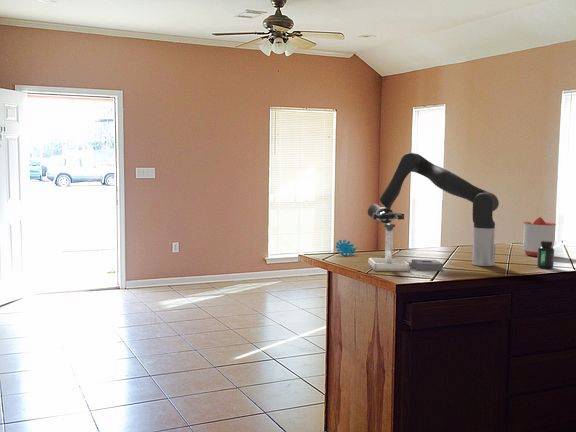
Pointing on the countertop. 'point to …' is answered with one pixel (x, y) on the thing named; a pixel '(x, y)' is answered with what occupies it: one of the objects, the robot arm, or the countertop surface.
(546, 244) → the supplement bottle
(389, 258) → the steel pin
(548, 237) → the citrus juicer
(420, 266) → the block
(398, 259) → the tray
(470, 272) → the countertop surface
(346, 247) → the gear
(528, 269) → the countertop surface
